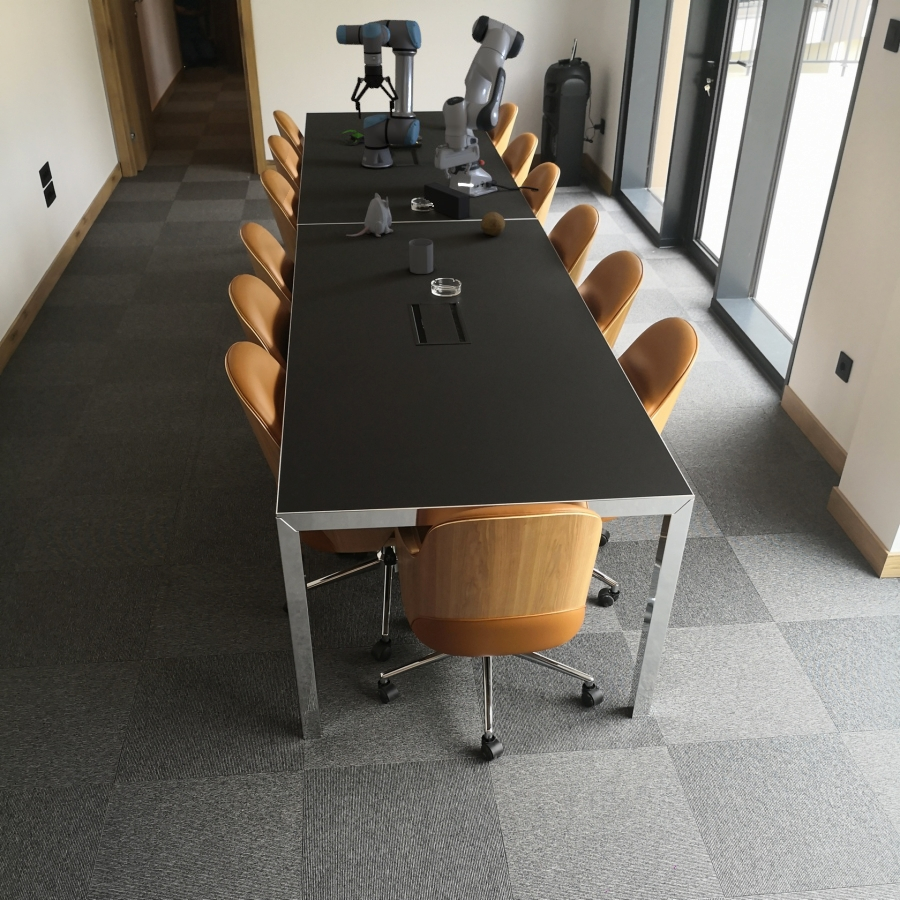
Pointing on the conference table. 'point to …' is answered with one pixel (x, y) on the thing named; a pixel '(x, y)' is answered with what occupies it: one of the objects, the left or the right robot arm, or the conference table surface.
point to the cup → (421, 256)
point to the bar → (447, 200)
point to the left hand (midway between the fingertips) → (375, 117)
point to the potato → (492, 223)
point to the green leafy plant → (354, 137)
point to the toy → (377, 217)
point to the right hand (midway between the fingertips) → (457, 176)
